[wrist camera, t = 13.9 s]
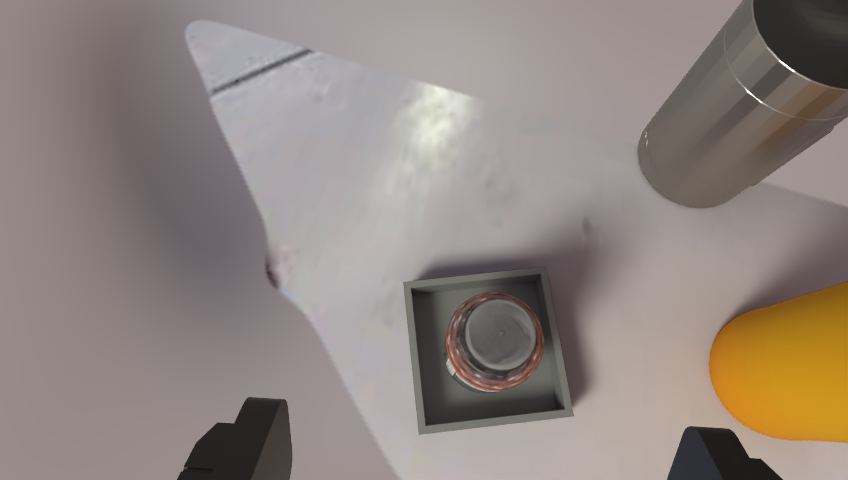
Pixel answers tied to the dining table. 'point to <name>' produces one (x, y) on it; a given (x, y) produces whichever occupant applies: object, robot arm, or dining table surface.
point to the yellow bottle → (787, 367)
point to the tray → (434, 385)
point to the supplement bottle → (493, 343)
